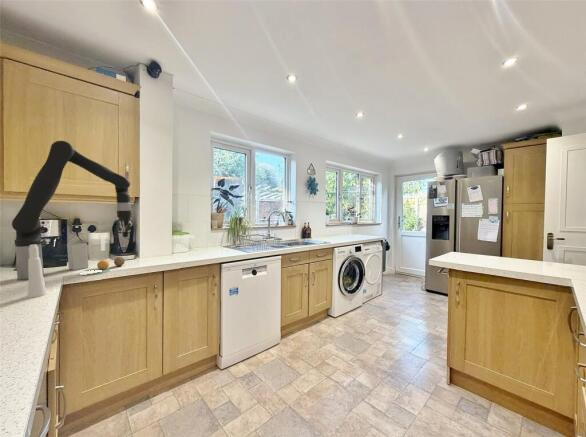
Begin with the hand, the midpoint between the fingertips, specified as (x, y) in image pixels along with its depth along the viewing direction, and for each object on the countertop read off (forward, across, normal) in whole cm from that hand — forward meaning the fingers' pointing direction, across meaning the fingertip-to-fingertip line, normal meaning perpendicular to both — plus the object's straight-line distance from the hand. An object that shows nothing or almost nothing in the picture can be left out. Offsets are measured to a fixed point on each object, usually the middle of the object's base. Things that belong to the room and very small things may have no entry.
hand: (125, 237), depth 158 cm
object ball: (+14, 0, -14) cm, 20 cm away
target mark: (+17, 0, -19) cm, 25 cm away
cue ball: (+14, +1, -6) cm, 15 cm away
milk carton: (+17, -16, -18) cm, 30 cm away
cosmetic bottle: (+17, +13, -50) cm, 55 cm away
